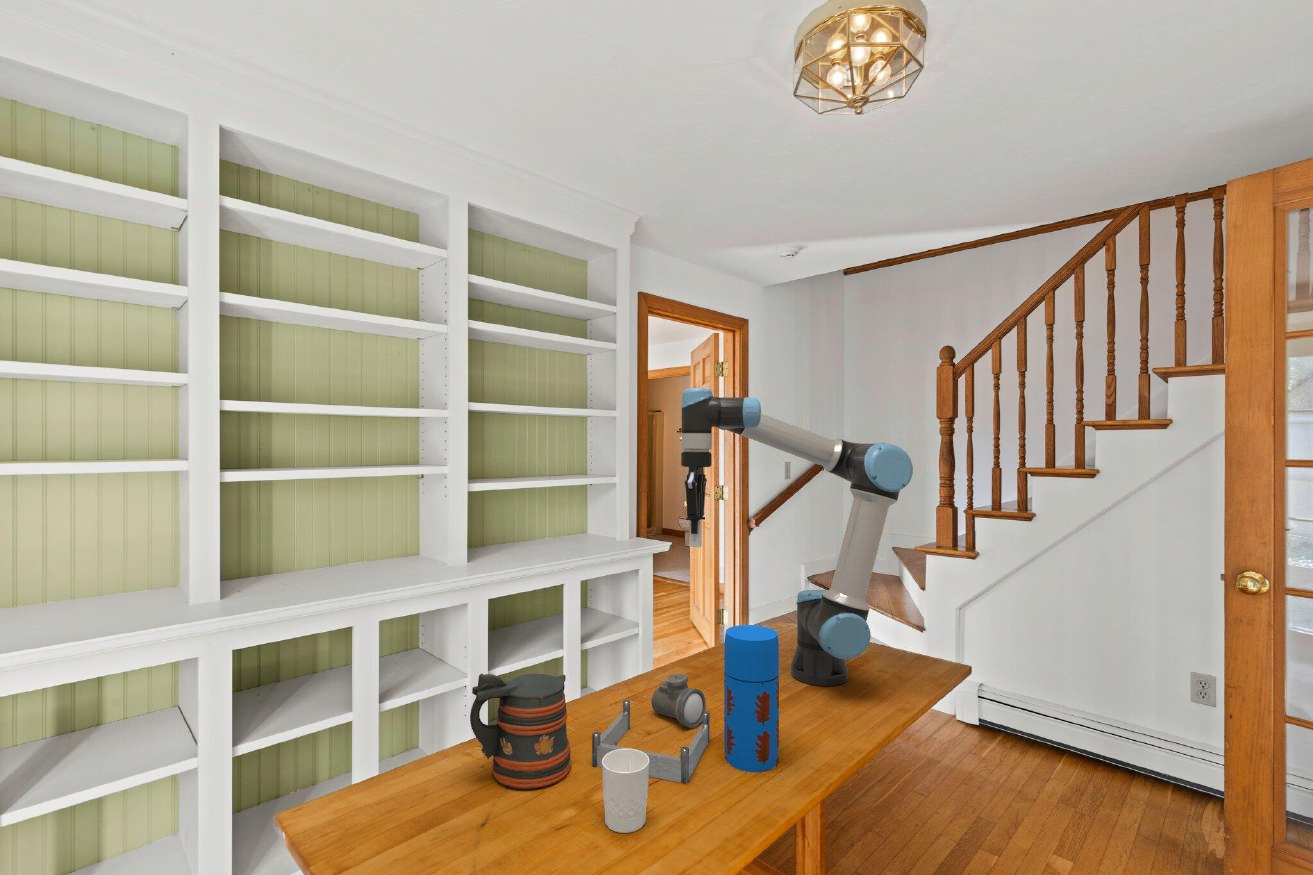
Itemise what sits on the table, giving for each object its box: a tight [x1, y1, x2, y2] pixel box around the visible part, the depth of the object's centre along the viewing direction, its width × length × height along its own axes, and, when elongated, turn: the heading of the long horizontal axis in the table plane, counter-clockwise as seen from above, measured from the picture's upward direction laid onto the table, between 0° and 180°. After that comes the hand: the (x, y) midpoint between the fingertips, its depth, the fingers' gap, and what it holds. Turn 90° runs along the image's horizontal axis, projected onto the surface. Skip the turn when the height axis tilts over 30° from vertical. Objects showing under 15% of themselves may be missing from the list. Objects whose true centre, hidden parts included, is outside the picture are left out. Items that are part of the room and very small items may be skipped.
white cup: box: [601, 748, 650, 834], centre depth 101 cm, size 8×8×10 cm
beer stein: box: [469, 673, 572, 790], centre depth 115 cm, size 19×15×20 cm
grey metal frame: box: [591, 699, 711, 785], centre depth 123 cm, size 18×20×6 cm
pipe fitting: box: [650, 673, 707, 729], centre depth 138 cm, size 12×8×10 cm
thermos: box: [723, 624, 780, 773], centre depth 121 cm, size 11×11×25 cm
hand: (695, 546), depth 149 cm, fingers closed
